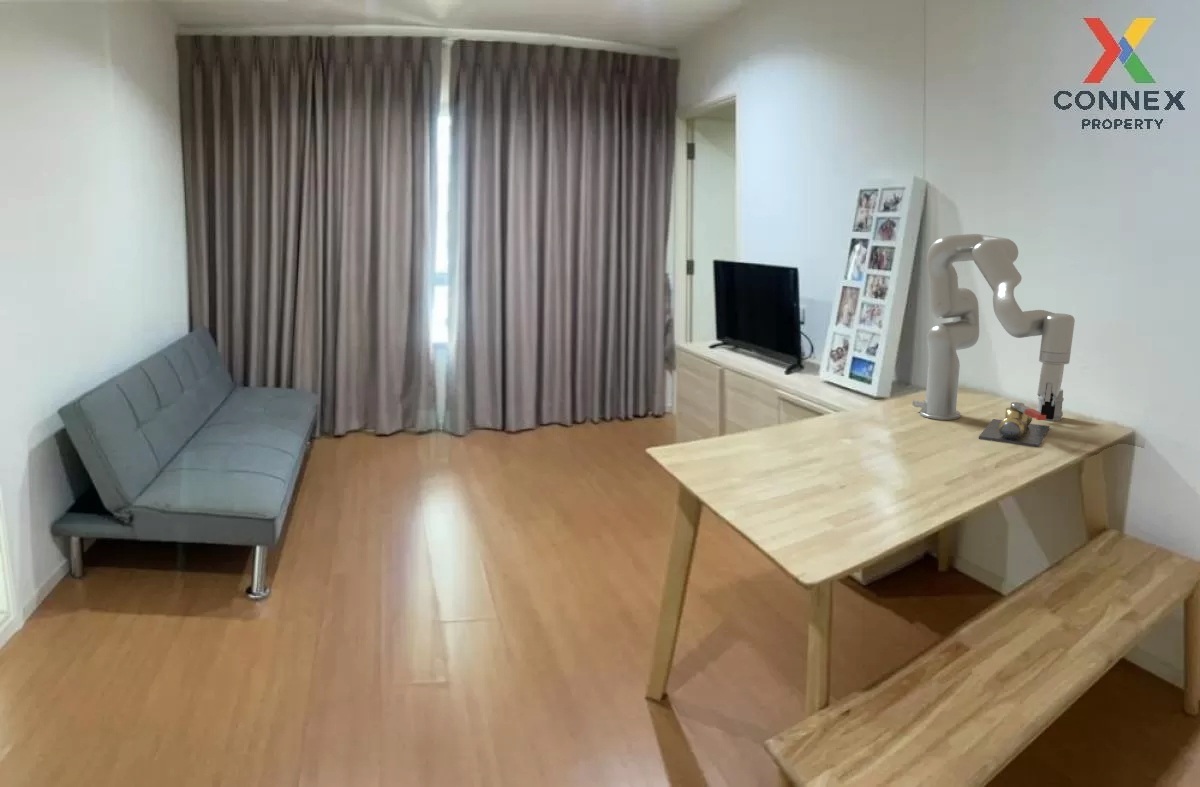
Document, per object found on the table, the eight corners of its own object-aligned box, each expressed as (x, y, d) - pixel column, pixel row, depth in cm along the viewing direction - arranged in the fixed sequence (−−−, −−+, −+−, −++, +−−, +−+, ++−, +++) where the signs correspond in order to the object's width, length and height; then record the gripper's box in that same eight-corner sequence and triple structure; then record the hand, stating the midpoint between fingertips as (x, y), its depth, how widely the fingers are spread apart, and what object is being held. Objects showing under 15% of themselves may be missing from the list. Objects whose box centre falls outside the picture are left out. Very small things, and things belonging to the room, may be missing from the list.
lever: (1008, 407, 229) (1008, 402, 229) (1019, 407, 229) (1020, 402, 229) (1035, 420, 215) (1036, 415, 214) (1048, 420, 215) (1048, 414, 214)
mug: (1064, 417, 244) (1069, 381, 241) (1055, 425, 236) (1059, 388, 233) (1038, 413, 249) (1042, 378, 246) (1028, 421, 241) (1032, 385, 238)
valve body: (978, 438, 226) (980, 414, 224) (992, 421, 242) (995, 398, 241) (1038, 447, 216) (1041, 422, 214) (1049, 428, 233) (1052, 405, 231)
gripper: (1043, 351, 220) (1036, 410, 225) (1035, 360, 209) (1028, 422, 214) (1072, 353, 216) (1064, 413, 221) (1066, 363, 205) (1058, 426, 209)
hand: (1047, 418), depth 217 cm, fingers closed
